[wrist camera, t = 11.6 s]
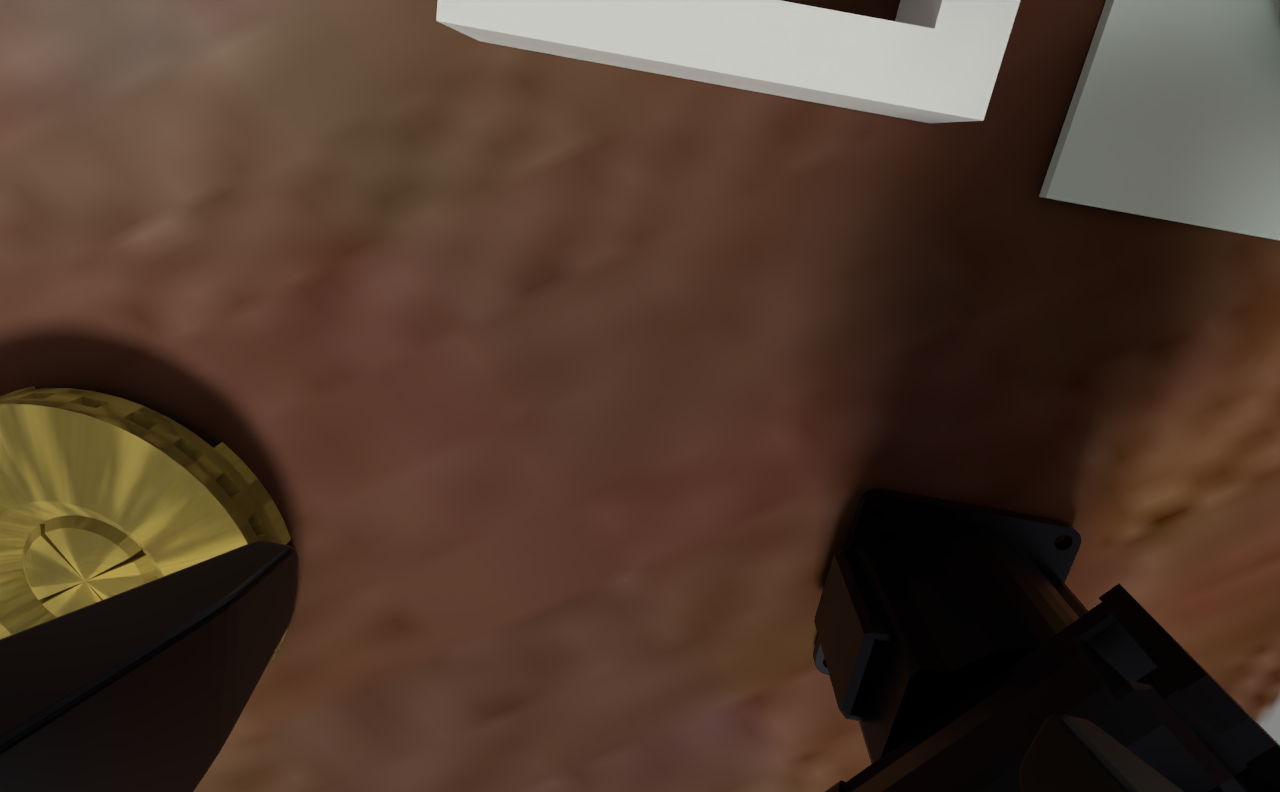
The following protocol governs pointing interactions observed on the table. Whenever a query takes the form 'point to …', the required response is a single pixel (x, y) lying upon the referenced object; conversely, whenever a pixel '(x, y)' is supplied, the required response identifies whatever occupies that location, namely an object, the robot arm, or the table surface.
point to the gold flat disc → (111, 502)
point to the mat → (1178, 116)
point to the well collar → (773, 46)
